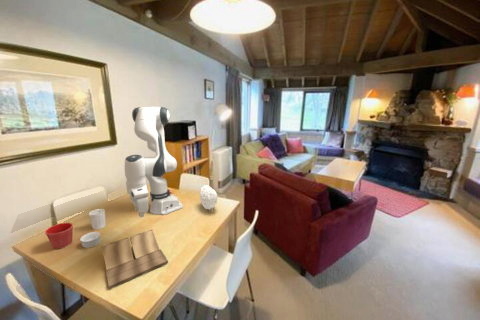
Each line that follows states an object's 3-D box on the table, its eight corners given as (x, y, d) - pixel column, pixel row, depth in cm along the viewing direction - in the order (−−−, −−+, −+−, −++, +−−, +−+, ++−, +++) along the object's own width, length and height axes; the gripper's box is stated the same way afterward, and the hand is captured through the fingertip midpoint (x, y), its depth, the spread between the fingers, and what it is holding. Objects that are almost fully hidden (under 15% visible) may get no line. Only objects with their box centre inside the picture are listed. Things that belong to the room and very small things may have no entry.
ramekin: (81, 242, 112) (79, 235, 111) (100, 236, 118) (99, 229, 117) (81, 251, 106) (80, 243, 105) (102, 244, 111) (101, 237, 110)
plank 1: (127, 238, 106) (127, 237, 105) (133, 260, 100) (133, 259, 99) (101, 247, 99) (101, 245, 98) (106, 271, 93) (106, 270, 92)
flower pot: (59, 238, 115) (55, 222, 112) (80, 237, 116) (77, 222, 113) (43, 251, 105) (39, 234, 102) (66, 250, 106) (63, 233, 103)
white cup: (99, 231, 122) (96, 215, 120) (87, 229, 124) (85, 214, 121) (109, 224, 130) (107, 209, 127) (99, 222, 131) (96, 208, 129)
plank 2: (151, 230, 113) (152, 229, 112) (158, 250, 107) (159, 249, 106) (129, 238, 106) (129, 236, 106) (135, 260, 100) (136, 258, 99)
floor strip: (160, 250, 107) (160, 248, 107) (168, 263, 99) (167, 260, 99) (105, 272, 92) (105, 269, 92) (109, 289, 84) (109, 286, 84)
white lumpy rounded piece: (220, 212, 147) (220, 190, 143) (206, 216, 142) (206, 193, 137) (210, 202, 162) (210, 182, 158) (197, 206, 156) (196, 184, 152)
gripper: (125, 183, 108) (128, 207, 111) (135, 196, 93) (138, 224, 96) (138, 180, 112) (140, 204, 115) (149, 193, 97) (152, 220, 100)
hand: (139, 213), depth 106 cm, fingers open, 6 cm apart
